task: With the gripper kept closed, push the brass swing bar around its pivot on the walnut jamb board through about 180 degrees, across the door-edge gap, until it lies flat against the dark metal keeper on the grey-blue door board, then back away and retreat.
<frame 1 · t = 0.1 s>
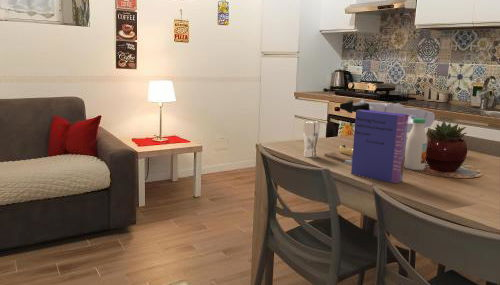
hand: (346, 107, 190), 22 cm above the table, tool horizontal, fingers open, 7 cm apart
milk bottle: (414, 168, 177), on the table
purple book: (375, 178, 162), on the table
swing bar: (349, 150, 192), point 3 cm above the table, hinge at 0.0°
beer glass: (310, 156, 193), on the table
door and jamb: (360, 160, 187), on the table
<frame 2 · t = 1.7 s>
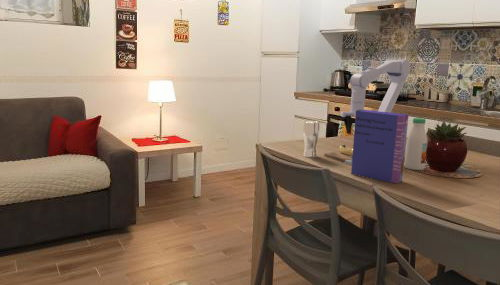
hand: (354, 133, 193), 10 cm above the table, tool pointing down, fingers open, 6 cm apart
nothing on the table moved.
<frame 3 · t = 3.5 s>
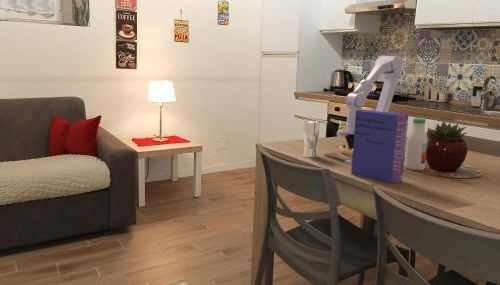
hand: (351, 151, 194), 2 cm above the table, tool pointing down, fingers closed, pressing on swing bar
swing bar: (349, 150, 192), point 3 cm above the table, hinge at 0.0°, touching gripper
everything else where it was.
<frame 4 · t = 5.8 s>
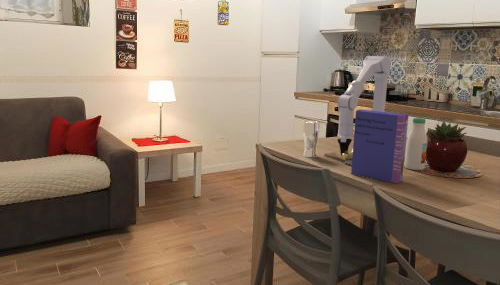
hand: (343, 156, 186), 2 cm above the table, tool pointing down, fingers closed, pressing on swing bar
swing bar: (350, 153, 185), point 3 cm above the table, hinge at 110.3°, touching gripper
everything else where it was.
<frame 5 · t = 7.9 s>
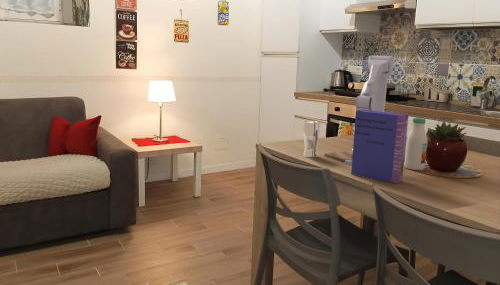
hand: (360, 157, 182), 2 cm above the table, tool pointing down, fingers closed
swing bar: (363, 154, 185), point 3 cm above the table, hinge at 183.2°, touching door and jamb, gripper
everything else where it was.
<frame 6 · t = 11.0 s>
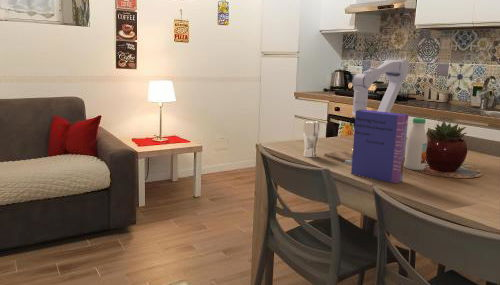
hand: (357, 133, 192), 10 cm above the table, tool pointing down, fingers closed
swing bar: (363, 154, 185), point 3 cm above the table, hinge at 183.1°
everything else where it was.
at the end: swing bar at +183° (first picture: +0°); swing bar touching nothing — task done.
